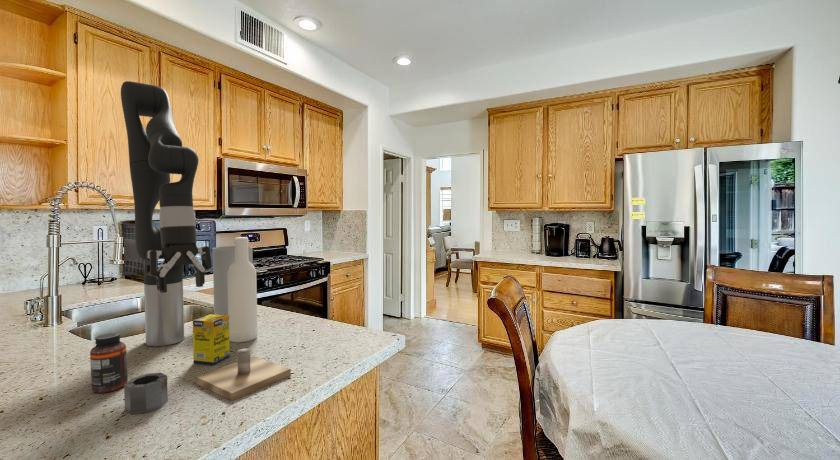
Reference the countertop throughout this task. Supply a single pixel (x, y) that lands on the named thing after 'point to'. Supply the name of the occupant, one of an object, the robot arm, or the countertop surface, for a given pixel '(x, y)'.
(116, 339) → the supplement bottle
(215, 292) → the cylinder vase
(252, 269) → the bottle
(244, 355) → the shaft stand
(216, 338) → the supplement box
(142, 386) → the ring
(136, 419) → the countertop surface
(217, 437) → the countertop surface
